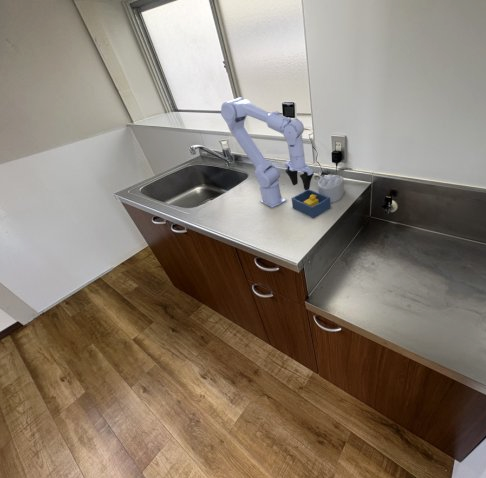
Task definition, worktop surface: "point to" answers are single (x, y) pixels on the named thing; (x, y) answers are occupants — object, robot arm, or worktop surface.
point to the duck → (312, 200)
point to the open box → (308, 210)
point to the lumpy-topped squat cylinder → (331, 187)
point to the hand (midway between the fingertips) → (301, 186)
